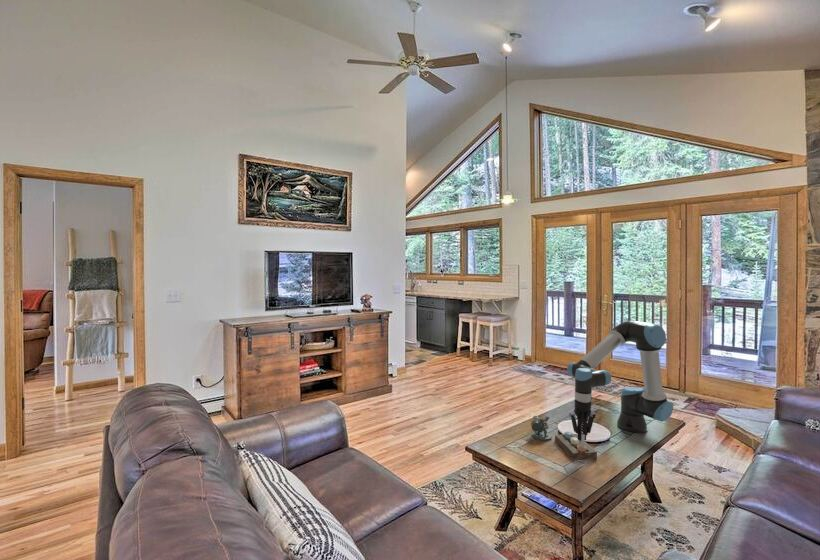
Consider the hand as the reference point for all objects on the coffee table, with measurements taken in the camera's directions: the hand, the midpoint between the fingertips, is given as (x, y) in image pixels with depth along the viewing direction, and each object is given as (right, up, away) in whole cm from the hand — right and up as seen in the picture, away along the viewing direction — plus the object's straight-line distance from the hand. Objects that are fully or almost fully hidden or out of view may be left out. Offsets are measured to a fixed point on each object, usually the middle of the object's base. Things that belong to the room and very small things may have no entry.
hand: (581, 446), depth 200 cm
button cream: (-1, -2, +7) cm, 7 cm away
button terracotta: (0, -3, 0) cm, 3 cm away
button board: (-1, -5, +7) cm, 8 cm away
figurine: (-13, -4, +22) cm, 26 cm away
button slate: (-1, -2, +13) cm, 13 cm away
